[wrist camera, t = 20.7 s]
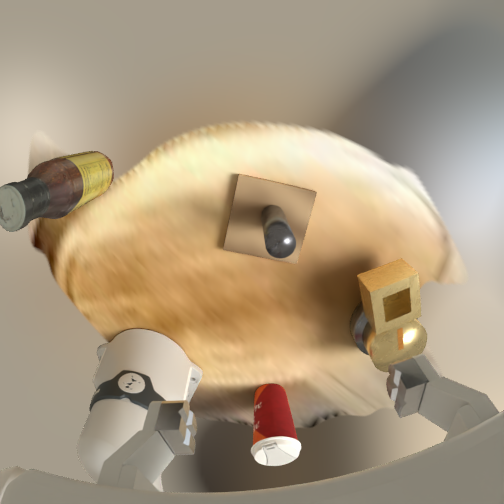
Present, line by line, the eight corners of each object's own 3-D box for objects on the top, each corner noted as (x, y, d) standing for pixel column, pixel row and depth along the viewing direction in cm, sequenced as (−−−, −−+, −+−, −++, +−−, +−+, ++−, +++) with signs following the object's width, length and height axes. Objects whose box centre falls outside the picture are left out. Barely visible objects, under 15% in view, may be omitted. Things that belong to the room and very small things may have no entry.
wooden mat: (295, 261, 43) (296, 264, 42) (223, 247, 42) (223, 249, 41) (314, 191, 40) (316, 192, 39) (239, 173, 38) (238, 174, 38)
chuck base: (393, 347, 50) (399, 357, 47) (340, 342, 49) (345, 353, 46) (419, 293, 46) (427, 302, 43) (364, 284, 45) (371, 293, 42)
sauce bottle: (74, 188, 38) (-21, 232, 19) (83, 145, 36) (-17, 164, 17) (113, 200, 39) (28, 254, 20) (123, 156, 37) (35, 180, 18)
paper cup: (241, 386, 51) (242, 450, 38) (283, 373, 50) (293, 438, 37) (258, 411, 54) (262, 471, 41) (296, 399, 53) (308, 460, 40)
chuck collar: (413, 340, 45) (427, 358, 41) (365, 359, 46) (375, 380, 41) (407, 256, 40) (425, 271, 35) (350, 277, 41) (362, 295, 36)
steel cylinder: (285, 226, 40) (296, 256, 31) (261, 228, 40) (266, 259, 31) (283, 203, 39) (295, 228, 30) (259, 206, 39) (263, 230, 30)
